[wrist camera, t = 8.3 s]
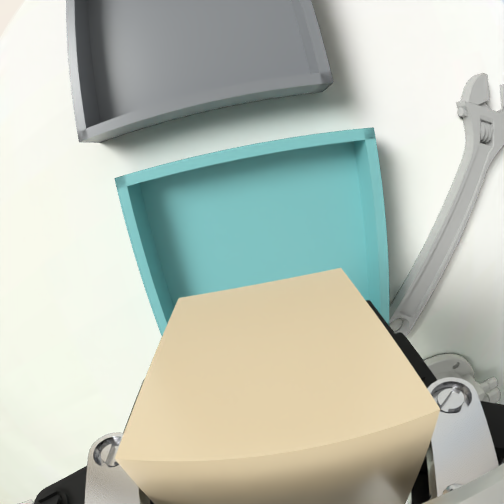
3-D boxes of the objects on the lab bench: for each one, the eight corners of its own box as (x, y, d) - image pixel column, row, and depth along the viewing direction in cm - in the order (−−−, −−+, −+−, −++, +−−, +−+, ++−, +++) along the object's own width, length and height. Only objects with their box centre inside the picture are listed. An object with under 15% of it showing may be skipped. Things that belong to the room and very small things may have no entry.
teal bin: (357, 130, 20) (373, 127, 17) (375, 310, 24) (389, 329, 21) (131, 174, 21) (114, 178, 18) (181, 346, 25) (174, 368, 22)
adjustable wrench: (394, 337, 26) (401, 348, 24) (338, 311, 25) (344, 322, 23) (513, 105, 19) (525, 105, 17) (470, 59, 18) (481, 55, 16)
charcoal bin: (278, -58, 15) (281, -79, 12) (322, 91, 19) (333, 82, 16) (83, -8, 16) (66, -21, 13) (99, 142, 20) (79, 142, 17)
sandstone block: (340, 267, 9) (439, 409, 4) (348, 388, 11) (396, 522, 5) (178, 298, 10) (114, 459, 4) (218, 410, 11) (206, 551, 5)
